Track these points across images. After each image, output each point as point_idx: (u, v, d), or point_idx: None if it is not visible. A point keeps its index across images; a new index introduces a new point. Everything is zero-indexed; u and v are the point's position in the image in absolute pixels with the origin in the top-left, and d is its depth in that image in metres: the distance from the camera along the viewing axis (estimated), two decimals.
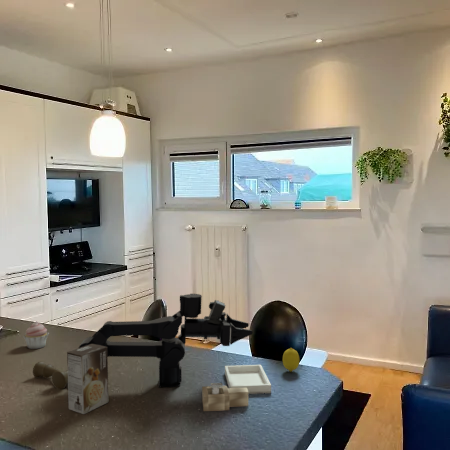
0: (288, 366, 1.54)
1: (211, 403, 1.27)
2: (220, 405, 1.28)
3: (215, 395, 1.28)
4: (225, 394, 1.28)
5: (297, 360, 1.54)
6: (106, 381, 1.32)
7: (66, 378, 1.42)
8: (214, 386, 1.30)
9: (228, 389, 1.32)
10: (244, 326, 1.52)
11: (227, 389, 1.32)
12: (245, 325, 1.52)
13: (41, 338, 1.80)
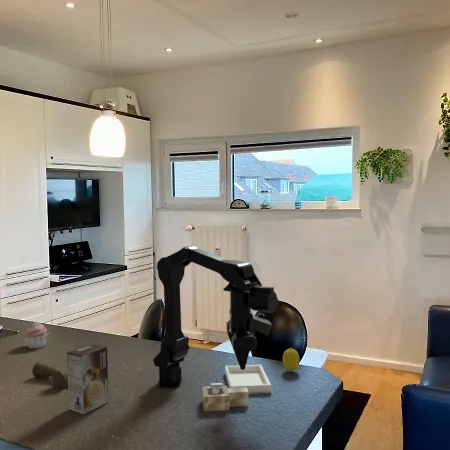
0: (288, 366, 1.54)
1: (211, 403, 1.27)
2: (220, 405, 1.28)
3: (215, 395, 1.28)
4: (225, 394, 1.28)
5: (297, 360, 1.54)
6: (106, 381, 1.32)
7: (66, 378, 1.42)
8: (214, 386, 1.30)
9: (228, 389, 1.32)
10: None
11: (227, 389, 1.32)
12: None
13: (41, 338, 1.80)
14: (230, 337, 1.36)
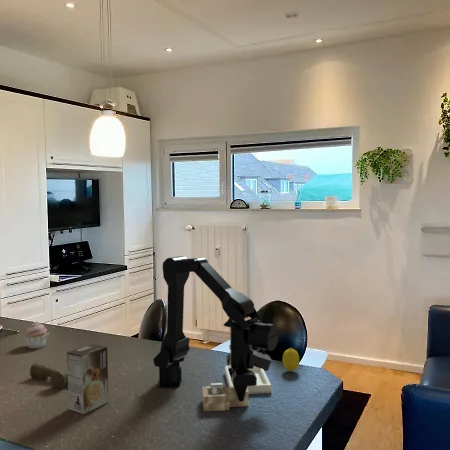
0: (288, 366, 1.54)
1: (211, 403, 1.27)
2: (220, 405, 1.28)
3: (215, 395, 1.28)
4: (225, 394, 1.28)
5: (297, 360, 1.54)
6: (106, 381, 1.32)
7: (65, 378, 1.42)
8: (214, 386, 1.30)
9: (228, 389, 1.32)
10: None
11: (227, 389, 1.32)
12: None
13: (41, 338, 1.80)
14: (231, 375, 1.33)
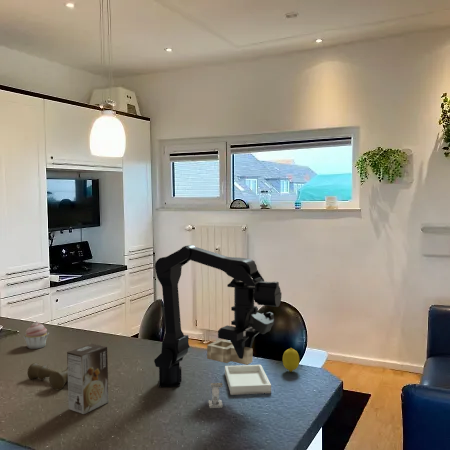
0: (288, 366, 1.54)
1: (213, 352, 1.37)
2: (220, 356, 1.36)
3: (217, 346, 1.37)
4: (226, 348, 1.36)
5: (297, 360, 1.54)
6: (106, 381, 1.32)
7: (64, 378, 1.42)
8: (214, 386, 1.30)
9: None
10: None
11: None
12: None
13: (41, 338, 1.80)
14: None
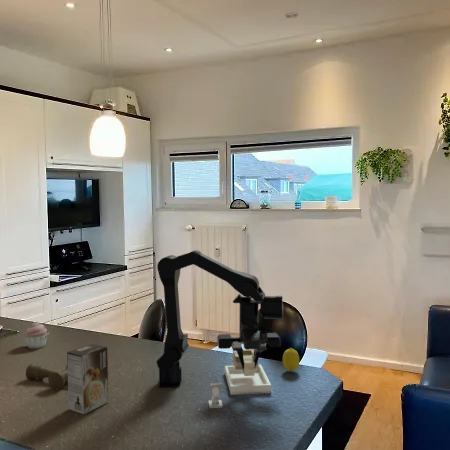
0: (288, 366, 1.54)
1: (233, 357, 1.50)
2: (234, 362, 1.48)
3: (236, 352, 1.49)
4: None
5: (297, 360, 1.54)
6: (106, 381, 1.32)
7: (63, 379, 1.42)
8: (214, 386, 1.30)
9: (248, 356, 1.46)
10: None
11: (249, 356, 1.46)
12: None
13: (41, 338, 1.80)
14: None
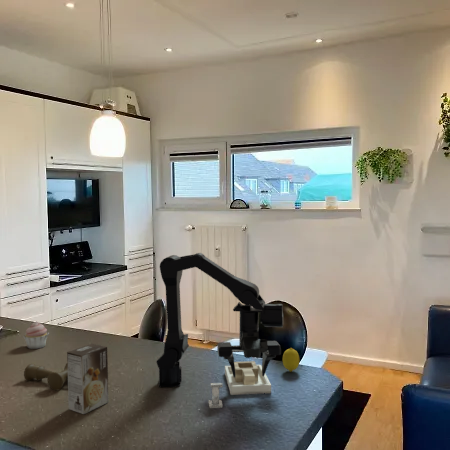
0: (288, 366, 1.54)
1: None
2: None
3: (236, 365, 1.49)
4: (238, 368, 1.47)
5: (297, 360, 1.54)
6: (106, 381, 1.32)
7: (63, 379, 1.42)
8: (214, 386, 1.30)
9: (249, 369, 1.46)
10: (262, 371, 1.43)
11: (249, 369, 1.46)
12: (262, 372, 1.43)
13: (41, 338, 1.80)
14: (263, 354, 1.45)
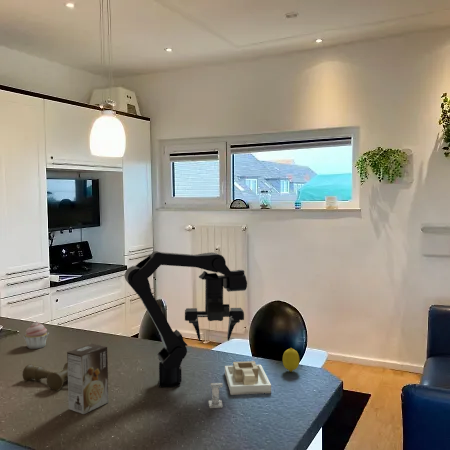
0: (288, 366, 1.54)
1: None
2: (234, 374, 1.48)
3: (236, 365, 1.49)
4: (238, 368, 1.47)
5: (297, 360, 1.54)
6: (106, 381, 1.32)
7: (62, 379, 1.42)
8: (214, 386, 1.30)
9: (249, 369, 1.46)
10: (227, 336, 1.52)
11: (249, 369, 1.46)
12: (227, 337, 1.51)
13: (41, 338, 1.80)
14: (229, 320, 1.53)
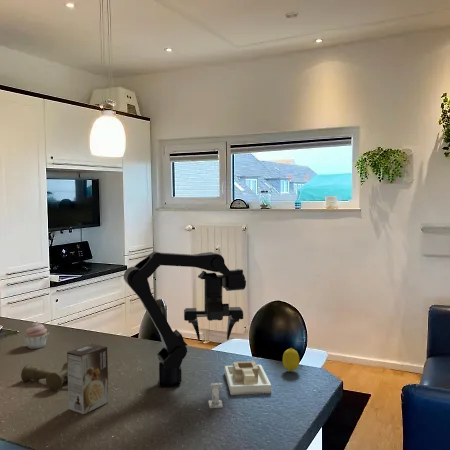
0: (288, 366, 1.54)
1: None
2: (234, 374, 1.48)
3: (236, 365, 1.49)
4: (238, 368, 1.47)
5: (297, 360, 1.54)
6: (106, 381, 1.32)
7: (62, 379, 1.41)
8: (214, 386, 1.30)
9: (249, 369, 1.46)
10: None
11: (249, 369, 1.46)
12: (227, 336, 1.52)
13: (41, 338, 1.80)
14: (228, 319, 1.54)
